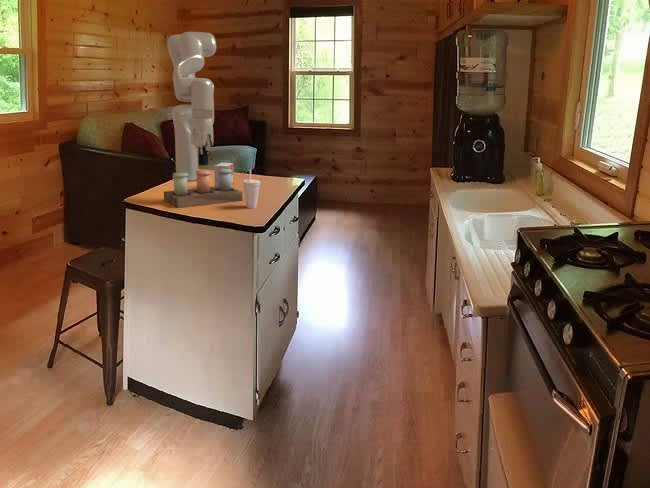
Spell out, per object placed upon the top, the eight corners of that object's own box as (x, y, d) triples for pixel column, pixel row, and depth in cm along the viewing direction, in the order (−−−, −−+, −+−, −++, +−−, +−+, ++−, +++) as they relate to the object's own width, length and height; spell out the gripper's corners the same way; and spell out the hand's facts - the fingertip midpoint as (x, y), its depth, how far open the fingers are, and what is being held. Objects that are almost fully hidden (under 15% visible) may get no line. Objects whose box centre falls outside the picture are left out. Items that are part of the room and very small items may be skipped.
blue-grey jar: (215, 189, 240) (215, 169, 238) (227, 188, 243) (227, 168, 241) (221, 192, 236) (221, 171, 234) (234, 190, 239) (234, 170, 237)
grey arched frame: (227, 192, 251) (227, 166, 248) (214, 191, 252) (214, 165, 249) (234, 188, 259) (234, 163, 256) (221, 187, 260) (221, 162, 257)
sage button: (171, 193, 230) (170, 172, 228) (184, 192, 233) (184, 171, 231) (177, 196, 226) (176, 175, 223) (191, 195, 229) (190, 174, 227)
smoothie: (244, 204, 232) (244, 167, 228) (261, 205, 232) (261, 168, 228) (241, 208, 226) (241, 170, 222) (259, 209, 226) (259, 171, 222)
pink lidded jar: (193, 191, 235) (193, 171, 233) (206, 190, 238) (206, 170, 236) (200, 194, 231) (199, 173, 229) (213, 193, 234) (213, 172, 232)
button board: (164, 200, 233) (163, 191, 232) (226, 193, 248) (226, 185, 247) (178, 208, 223) (178, 198, 222) (242, 200, 238) (242, 191, 237)
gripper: (184, 112, 230) (185, 162, 235) (201, 116, 218) (202, 168, 223) (202, 112, 234) (203, 161, 239) (221, 116, 222) (221, 167, 228)
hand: (203, 164), depth 231 cm, fingers closed
